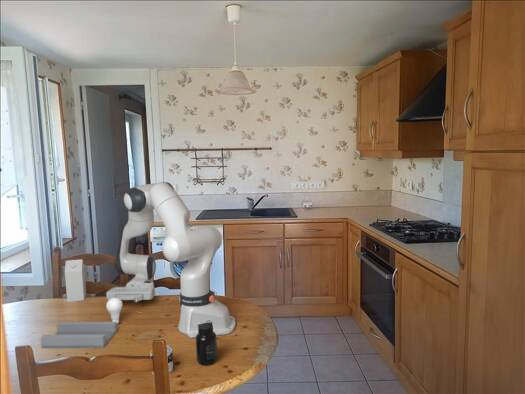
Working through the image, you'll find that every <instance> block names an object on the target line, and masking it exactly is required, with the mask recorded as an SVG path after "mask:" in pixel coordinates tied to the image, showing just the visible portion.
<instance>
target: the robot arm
mask: <svg viewBox="0 0 525 394" xmlns="http://www.w3.org/2000/svg"><path fill="white" fill-rule="evenodd" d="M122 200H123V203H124V206H125V208H126V209H127V210H128V221H127V223H124V224H123V226H122V227H121V229H120V232H119V233H120V234H119V238H118V239H119V240H118V245H117V252H116V256H115V262H114V269H115V271H116V272H117V273H118V274H119V275H134V276H133V278H132V279H131V280H129V281H128V282H127V283H126V285H125V286H114V287H112V288H110V289H109V290H107V291H106V294H105V296H106V300H107V301H109V300H110V299H111V298H119V299H120V300H121V301H133V303H138V302H140V301H142V300H143V301H150V300H152V299H153V298H154V296H155V283H154V276H155V275H156V269H157V264H156V260H155V259H154V257H153V256H151V255H147V254H137V253H136V254H135V253H130V252H129V245H130V240H131V239H133V238H137V237H141V236H143V235H145V234H148V233H149V232H150V231H151V230H152V229H153V227H154V222H155V214H154V213H156V214H157V215H158V217H159V219H160V220H161V223H162V224H163V226H164V227H165V232H166V235H165V238H164V240H163V242H162V246H161V250H162V254H163V256H164V257H165V259H167V260H168V261H169V262H171V263H181V262H186V261H188V262H187V263H186V264H185V266H184V268H183V269H182V270H181V272H180V277H179V279H180V281H179V282H180V292H179V307H180V316H179V323H178V326H177V329H178V331H179V332H180V333H182V334H185V335H186V336H187V337H188V338H192V339H193V338H194V339H195V338H196V335H197V334H198V326H199V325H200V324H203V323H211V324H212V325H213V331H214V332H215V333H216V336H221V335H229V334H231V333H232V332H233V331H234V330H235V328H236V318H235V317H234V316H232V315H230V311H229V308H228V307H227V306H226V305H225V304H223V303H222V302H219V301H218V299H216V293H215V292H216V291H215V290H213V291H212V290H211V289H210V272H211V266H212V263H213V259H214V257H215V255H216V253H217V252H218V250H219V249H221V246H222V243H223V238H222V234H221V231H220V230H219V229H218V228H217V227H214V226H200V227H197V228H190V227H189V225H188V223H189V221H190V219H191V211H190V210H189V208H188V207H187V205H186V204H185V203H184V200H183V199H182V198H181V197H180V195H179V194H178V192H177V191H175V188H174V186H173V185H172V184H171V183H170V182H167V181H160V182H155V183H154V182H153V183H149V184H148V183H146V184H142V185H138V186H134V187H133V186H132V187H130V188H128V189H126V190H125V191H124V194H123V199H122ZM154 211H155V212H154Z"/></svg>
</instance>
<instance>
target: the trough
mask: <svg viewBox="0 0 525 394" xmlns="http://www.w3.org/2000/svg"><path fill="white" fill-rule="evenodd" d="M117 325H118V323H117V322H112V321H59V322H58V323H57V324H56V327H57V331H56V332H55V333H54V334H43V335H42V336H41V337H40V340H41V341H40V343H41V349H104V348H105V347H106V345H108V343H109V342H111V341H110V340H112V338H113V337H114V336H115V334H116V333H118V327H117Z"/></svg>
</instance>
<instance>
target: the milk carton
mask: <svg viewBox="0 0 525 394" xmlns="http://www.w3.org/2000/svg"><path fill="white" fill-rule="evenodd" d="M64 266H65V267H64V279H65V289H66V291H65V292H66V301H67V303H74V302H81V301H82V302H84V301H85V300H86V296H87V287H86V286H87V285H86V273H85V265H84V261H83V258H82V259H71V260H70V259H69V260H65V265H64Z"/></svg>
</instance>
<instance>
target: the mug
mask: <svg viewBox="0 0 525 394" xmlns="http://www.w3.org/2000/svg"><path fill="white" fill-rule="evenodd" d="M166 346H167V356H168V365H169V375H170V374H171V373H172V372H173V371H174V362H173V361H174V358H173V357H174V355H173V347H172V344H170V343H169V344H166ZM149 354H150V357H151V356H152V349H151V350H150V353H149ZM172 370H173V371H172ZM171 371H172V372H171ZM150 373H151V374H152V376H153V375H154V373H153V372H151V371H150Z"/></svg>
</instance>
